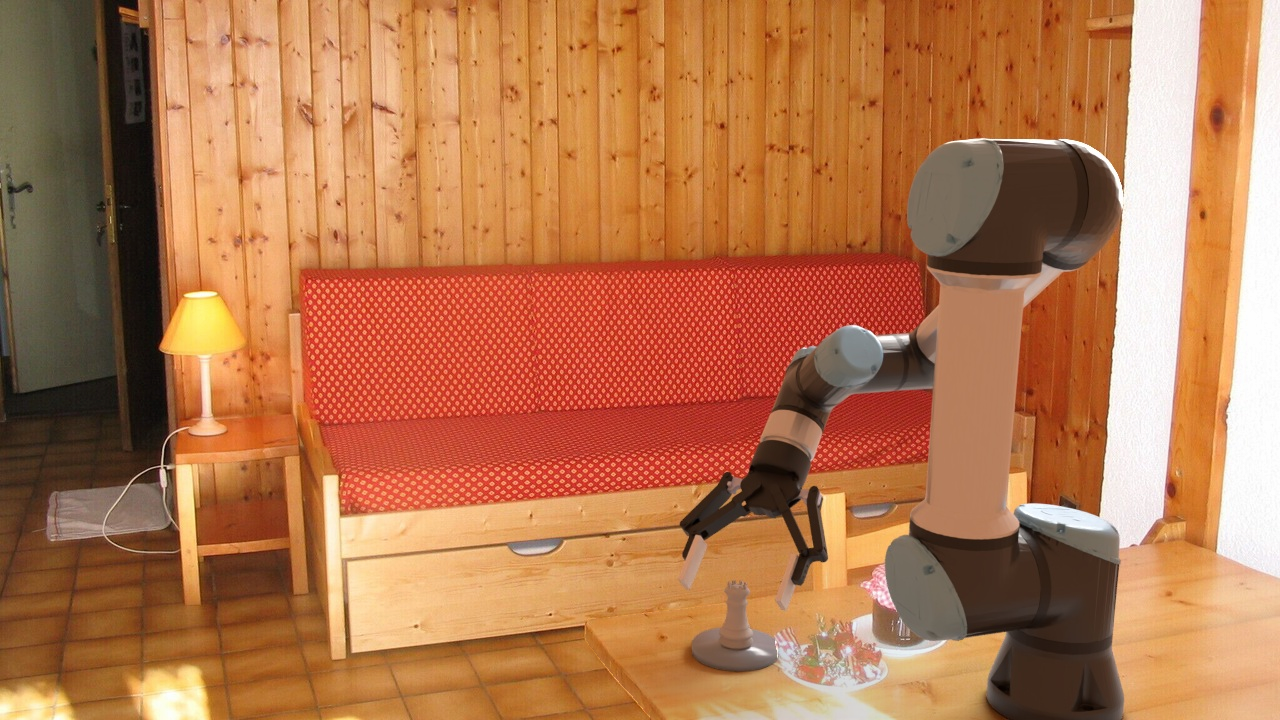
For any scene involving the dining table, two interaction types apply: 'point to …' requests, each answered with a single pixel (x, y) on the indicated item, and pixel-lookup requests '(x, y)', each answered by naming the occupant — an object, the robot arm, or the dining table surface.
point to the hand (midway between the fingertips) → (731, 595)
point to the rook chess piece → (736, 618)
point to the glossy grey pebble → (734, 652)
